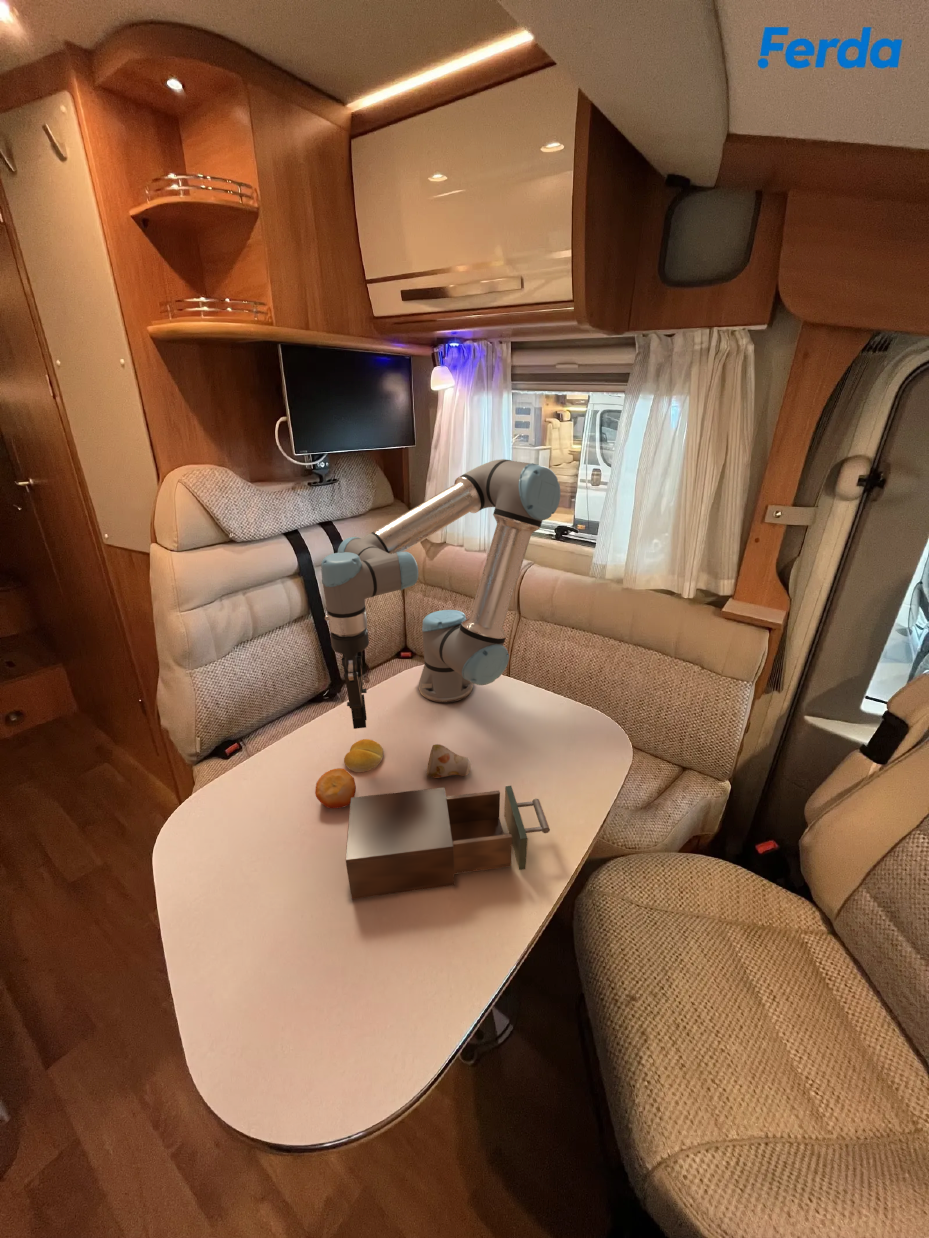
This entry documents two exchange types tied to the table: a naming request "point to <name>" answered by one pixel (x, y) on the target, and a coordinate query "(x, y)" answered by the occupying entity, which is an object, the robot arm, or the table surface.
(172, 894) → the table surface
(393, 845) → the cabinet
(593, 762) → the table surface
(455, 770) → the spotted paper cup
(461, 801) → the drawer
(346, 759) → the bread roll
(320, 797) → the fruit
